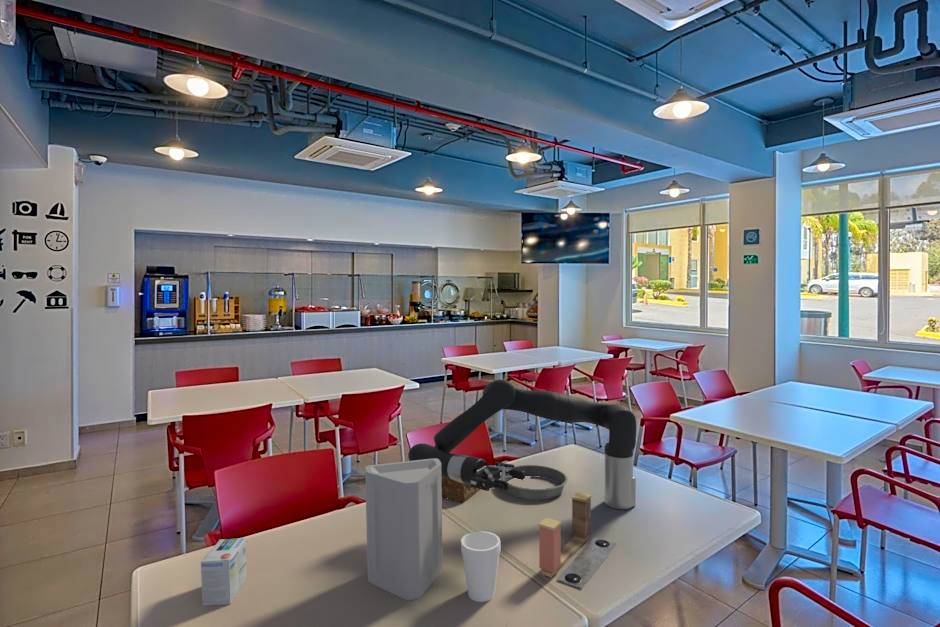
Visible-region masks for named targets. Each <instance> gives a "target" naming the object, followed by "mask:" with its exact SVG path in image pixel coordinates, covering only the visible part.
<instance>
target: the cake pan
mask: <svg viewBox="0 0 940 627" xmlns="http://www.w3.org/2000/svg"><path fill="white" fill-rule="evenodd" d="M514 469H516V470H521V471H524V472H525V476H540V477H545V478H544V479H546V478H548V479H547V480H550V479H551V481H553V480H554V481H553V482H555V481H556V482H555V483H556V484H558V483H559V485H556V486H553V487H551V486H549V487H550V488H546V489H529V488H522V487H518V486H514V485H512V484H509V489H508V490H507V491H506V492H507V493H508V494H510V495H511V494H512V496H514V497H516V496H517V497H516V498H519V497H520V499H525V500H535V501H537V500H540V501H541V499H542V500H548V499H553V498H556V497H558V496H559V495H561V494H562V493H563V491H564V488H565V485H567V483H568V480H569V478H568V476H567V475H566V474H565V473H564V472H563V471H562V470H560V469H557V468H553V467H550V466H546V465H538V464H522V465H520V464H519V465H514ZM508 471H509V470H508ZM505 474H506V473H505ZM501 475H502V473H501V472H500V476H501ZM540 477H539V478H540ZM511 479H513V478H512V477H506V478H505V479H500V480H503V481H507V482H508V481H509V480H511Z"/></svg>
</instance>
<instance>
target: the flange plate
mask: <svg viewBox="0 0 940 627" xmlns="http://www.w3.org/2000/svg"><path fill="white" fill-rule="evenodd" d="M616 546H617V543H616V542H612V541H609V540H606V539H603V538H600V537H599V538H598V537H593V538H592V539H591V541H590V542H589V543H588V544H587V545H586V546H585V548H583V549H582V551H581V552H580V553H579V554H578V555H577V556H576V558H574V559H573V560H572V561H571V563H570V564H569V565H568V566H567V567H566V568H564V571H563V572H562V573H561V574H560V575H559V576H558V577H557V579H556V580H559V581H558V582H560V581H562V582H561V583H563V582H565V583H564V584H566V583H568V584H571V585H574V586H577V587H579V588H582V587H583V586H584V585H586V584H587V583H588V582H589V580H591V578H592V577H591V576H593V575H594V574H595V573H596V572H595V571H597V570H599V568H600V567H601V565H602V564H603V563H604V561H605V560H606V559H607V558H608V556H609V555H610V554H611V552H612V551H613V550H614V549H615V548H616ZM599 566H600V567H599ZM590 577H591V578H590ZM587 581H588V582H587ZM586 582H587V583H586ZM585 583H586V584H585ZM568 584H567V585H568ZM571 585H570V586H571ZM574 586H573V587H574ZM577 587H576V588H577ZM584 587H585V586H584ZM584 587H583V588H584ZM579 588H578V589H579ZM583 588H582V589H583Z"/></svg>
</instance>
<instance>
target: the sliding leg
mask: <svg viewBox="0 0 940 627" xmlns="http://www.w3.org/2000/svg"><path fill="white" fill-rule="evenodd" d="M561 525H562V521H560V520H556V519H553V518H550V517H545V518H543V519H542V520H541V521H540V522H539V523H538V527H539V528H538V529H539V531H538V532H539V533H538V534H539V537H538V538H539V545H538V546H539V547H538V548H539V550H538V552H539V569H540V570H541V569H544V570H547V571H549V572H552V573H554V572H555V571H556V570H557V569H558V568H559V567H560V566H561V549H562V547H561V544H562V543H561V542H562V540H561V537H562V536H561V535H562V534H561V533H562V532H561V527H562V526H561Z"/></svg>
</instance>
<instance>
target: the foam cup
mask: <svg viewBox="0 0 940 627" xmlns="http://www.w3.org/2000/svg"><path fill="white" fill-rule="evenodd" d="M501 542H502V541H501V539H500V536H498V535H497V534H496V533H494V532H490V531H486V530H475V531H470V532H468V533H466V534H464V535H463V536H462V537H461V539H460V551H461V555H462V560H463V561H462V562H463V566H464V568H463V569H464V573H465V580H466V581H465V582H466V589H467V594H468V597H469V598H470V600H472V601H475V602H477V603H485V602H489V601H491V600H492V599H494V597H495V594H496V586H497V577H498V568H499V560H500V554H501V550H502V548H501V547H502V546H501V545H502V544H501Z"/></svg>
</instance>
